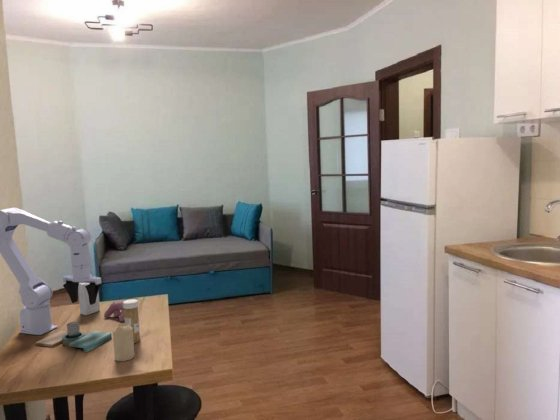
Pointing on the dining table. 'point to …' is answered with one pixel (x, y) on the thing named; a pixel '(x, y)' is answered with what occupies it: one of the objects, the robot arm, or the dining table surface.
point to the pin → (73, 330)
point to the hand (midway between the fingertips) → (83, 303)
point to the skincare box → (87, 301)
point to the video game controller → (115, 310)
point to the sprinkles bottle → (132, 317)
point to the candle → (123, 342)
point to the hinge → (76, 340)
